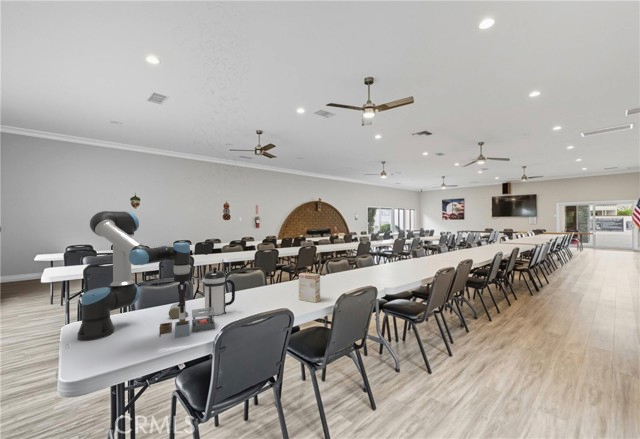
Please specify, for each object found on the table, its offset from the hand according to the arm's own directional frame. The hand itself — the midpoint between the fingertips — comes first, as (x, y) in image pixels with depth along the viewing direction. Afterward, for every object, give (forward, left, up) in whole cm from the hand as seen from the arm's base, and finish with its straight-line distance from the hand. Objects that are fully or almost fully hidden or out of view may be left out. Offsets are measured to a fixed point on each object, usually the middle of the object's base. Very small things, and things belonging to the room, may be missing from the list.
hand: (182, 315), depth 146 cm
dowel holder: (-8, +8, -11) cm, 16 cm away
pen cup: (0, 0, -11) cm, 11 cm away
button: (+10, +6, -11) cm, 16 cm away
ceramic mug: (-3, +36, -11) cm, 38 cm away
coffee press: (+19, +29, -11) cm, 36 cm away
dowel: (0, 0, -11) cm, 11 cm away
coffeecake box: (+84, +34, -11) cm, 91 cm away
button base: (+10, +6, -11) cm, 16 cm away
